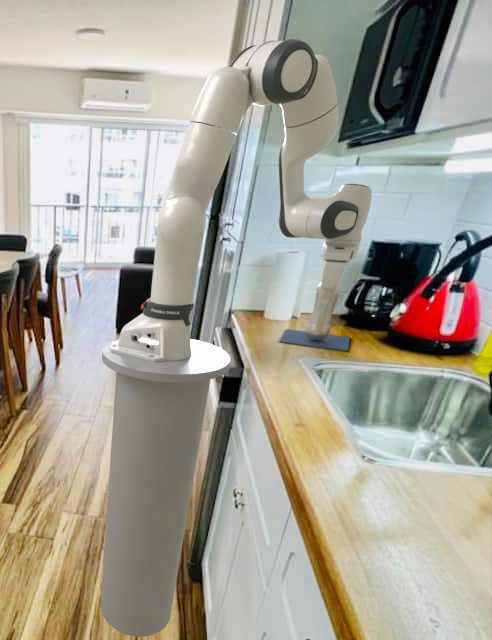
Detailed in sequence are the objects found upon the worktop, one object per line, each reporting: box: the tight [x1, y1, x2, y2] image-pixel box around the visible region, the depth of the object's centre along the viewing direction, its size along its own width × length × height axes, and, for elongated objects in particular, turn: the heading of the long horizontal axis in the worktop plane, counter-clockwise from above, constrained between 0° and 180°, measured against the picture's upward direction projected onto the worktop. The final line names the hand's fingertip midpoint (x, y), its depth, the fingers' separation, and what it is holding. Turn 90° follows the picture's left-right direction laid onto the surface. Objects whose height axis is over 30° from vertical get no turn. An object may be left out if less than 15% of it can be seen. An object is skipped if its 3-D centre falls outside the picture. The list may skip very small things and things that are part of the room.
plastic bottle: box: [305, 281, 342, 340], centre depth 141 cm, size 6×7×20 cm
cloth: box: [279, 329, 351, 352], centre depth 146 cm, size 18×16×1 cm
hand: (325, 301), depth 140 cm, fingers closed on plastic bottle, 6 cm apart
